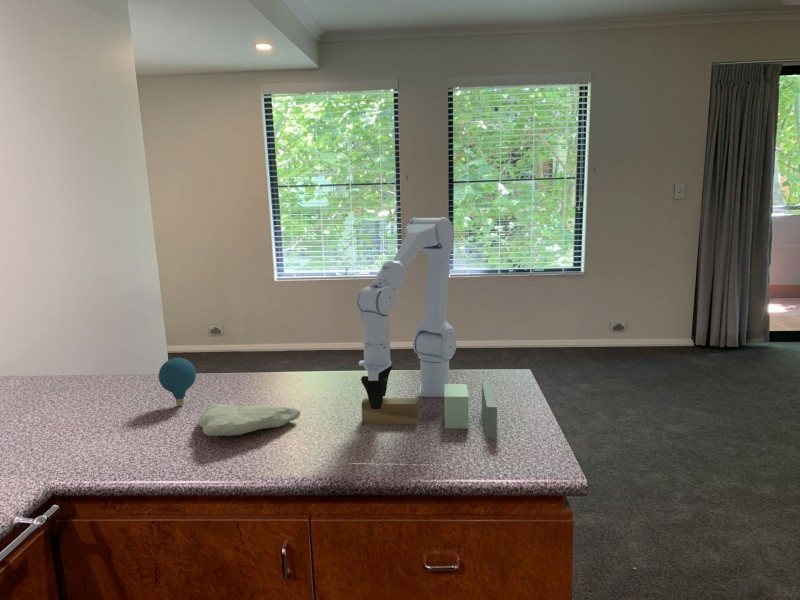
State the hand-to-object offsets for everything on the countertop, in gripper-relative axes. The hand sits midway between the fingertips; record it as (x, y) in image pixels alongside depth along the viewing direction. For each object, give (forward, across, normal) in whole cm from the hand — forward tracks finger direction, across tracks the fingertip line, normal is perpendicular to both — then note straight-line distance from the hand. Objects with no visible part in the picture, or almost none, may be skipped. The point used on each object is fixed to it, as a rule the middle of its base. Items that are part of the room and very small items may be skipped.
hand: (378, 402), depth 118 cm
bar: (+5, 0, +2) cm, 5 cm away
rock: (+5, +7, -30) cm, 31 cm away
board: (+4, +1, +24) cm, 25 cm away
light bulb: (+5, -8, -50) cm, 51 cm away
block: (+4, 0, +17) cm, 18 cm away
